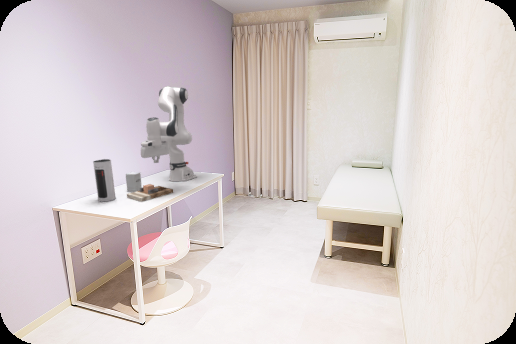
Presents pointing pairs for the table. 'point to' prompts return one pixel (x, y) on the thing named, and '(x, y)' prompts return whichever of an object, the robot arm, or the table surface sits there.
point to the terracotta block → (148, 187)
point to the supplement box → (133, 181)
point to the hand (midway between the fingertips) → (156, 162)
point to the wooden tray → (149, 193)
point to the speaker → (104, 180)
